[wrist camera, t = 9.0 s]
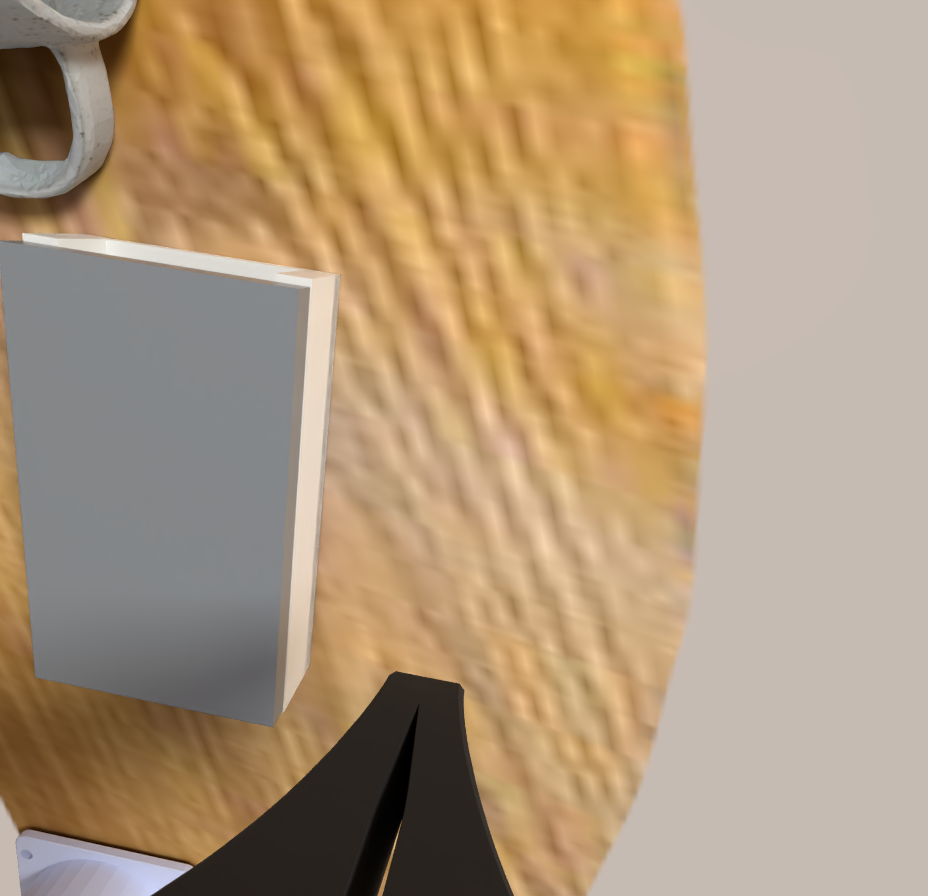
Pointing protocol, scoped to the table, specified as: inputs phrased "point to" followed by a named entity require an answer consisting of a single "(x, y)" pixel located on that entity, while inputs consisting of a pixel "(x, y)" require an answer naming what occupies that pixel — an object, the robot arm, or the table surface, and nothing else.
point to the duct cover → (156, 474)
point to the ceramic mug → (66, 86)
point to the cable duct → (313, 409)
